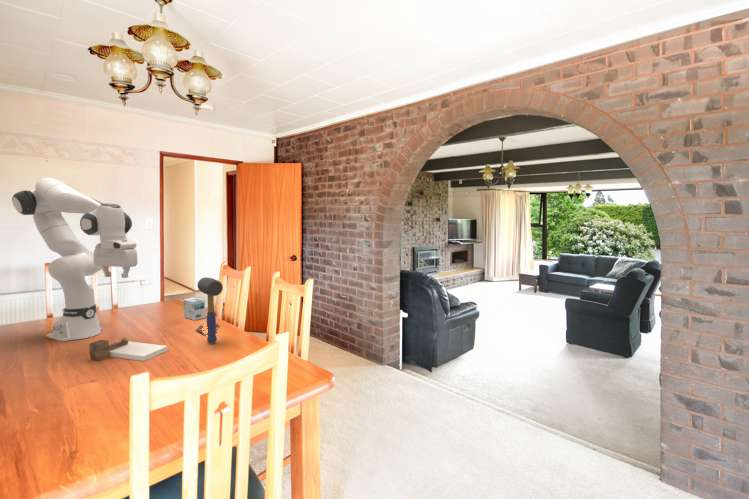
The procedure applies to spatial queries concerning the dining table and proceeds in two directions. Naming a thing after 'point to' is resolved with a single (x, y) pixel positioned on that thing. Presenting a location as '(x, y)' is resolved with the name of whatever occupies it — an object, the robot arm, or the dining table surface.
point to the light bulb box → (194, 308)
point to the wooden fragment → (207, 328)
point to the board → (138, 351)
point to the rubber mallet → (210, 304)
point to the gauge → (103, 349)
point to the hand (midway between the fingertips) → (116, 277)
